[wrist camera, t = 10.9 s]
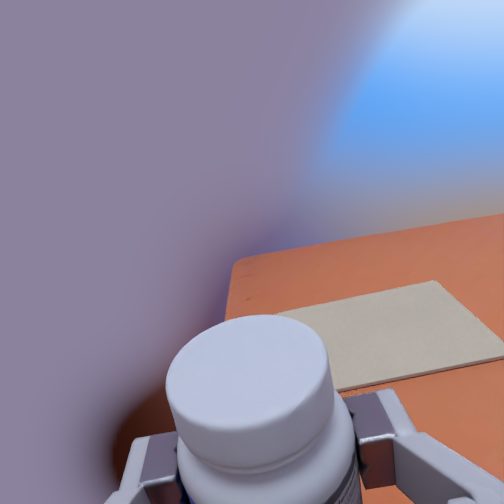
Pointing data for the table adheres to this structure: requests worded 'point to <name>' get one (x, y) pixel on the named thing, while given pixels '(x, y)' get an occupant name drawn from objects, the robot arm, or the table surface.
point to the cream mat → (398, 335)
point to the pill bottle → (261, 417)
